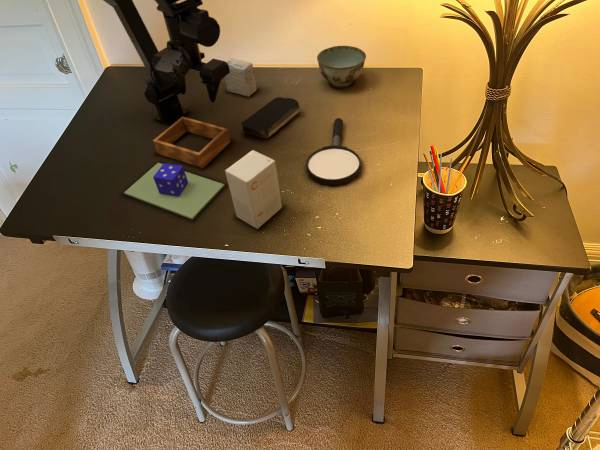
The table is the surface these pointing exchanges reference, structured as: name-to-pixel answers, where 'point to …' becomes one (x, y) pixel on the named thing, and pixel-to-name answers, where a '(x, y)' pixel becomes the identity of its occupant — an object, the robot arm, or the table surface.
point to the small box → (254, 188)
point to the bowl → (341, 64)
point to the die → (170, 179)
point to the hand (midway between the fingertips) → (198, 97)
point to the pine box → (185, 155)
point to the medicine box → (240, 77)
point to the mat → (184, 204)
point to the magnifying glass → (334, 161)
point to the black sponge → (271, 117)
